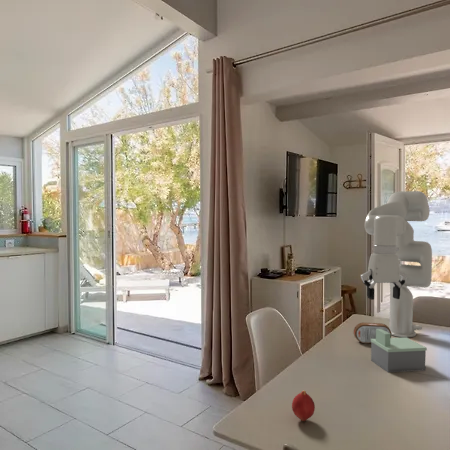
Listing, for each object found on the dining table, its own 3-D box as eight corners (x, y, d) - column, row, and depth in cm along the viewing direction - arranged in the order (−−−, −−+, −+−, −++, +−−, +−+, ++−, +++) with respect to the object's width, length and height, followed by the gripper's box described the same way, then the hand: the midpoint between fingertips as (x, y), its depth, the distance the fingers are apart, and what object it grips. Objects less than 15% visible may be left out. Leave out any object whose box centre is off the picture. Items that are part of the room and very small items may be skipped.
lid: (406, 343, 146) (406, 325, 146) (426, 354, 135) (426, 335, 135) (370, 344, 144) (371, 326, 144) (388, 355, 133) (388, 336, 133)
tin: (389, 342, 165) (390, 323, 165) (392, 345, 162) (392, 325, 162) (353, 341, 166) (353, 321, 166) (354, 343, 163) (355, 323, 163)
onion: (289, 415, 104) (289, 385, 104) (310, 414, 104) (311, 385, 104) (295, 427, 98) (295, 395, 98) (317, 426, 98) (318, 395, 98)
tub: (405, 358, 146) (406, 340, 146) (425, 370, 136) (425, 350, 135) (371, 360, 144) (371, 341, 144) (387, 372, 133) (388, 352, 133)
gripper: (400, 249, 143) (399, 296, 143) (356, 249, 140) (355, 296, 141) (413, 251, 136) (412, 300, 136) (367, 251, 133) (366, 301, 133)
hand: (383, 298), depth 138 cm, fingers open, 9 cm apart
